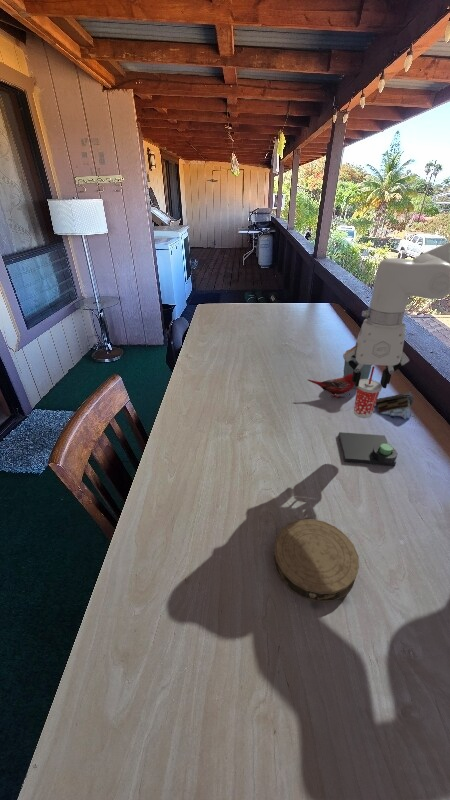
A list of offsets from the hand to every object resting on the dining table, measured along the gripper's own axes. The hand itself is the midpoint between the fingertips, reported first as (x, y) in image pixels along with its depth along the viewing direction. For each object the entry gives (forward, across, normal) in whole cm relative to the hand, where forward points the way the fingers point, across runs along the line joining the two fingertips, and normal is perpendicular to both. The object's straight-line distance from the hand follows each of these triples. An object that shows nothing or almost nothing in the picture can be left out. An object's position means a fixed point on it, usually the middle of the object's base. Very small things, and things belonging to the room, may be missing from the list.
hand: (369, 384), depth 90 cm
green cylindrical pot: (+20, +6, +40) cm, 45 cm away
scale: (+20, +2, -2) cm, 20 cm away
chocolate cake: (+20, +15, +19) cm, 32 cm away
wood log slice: (+20, -14, -39) cm, 46 cm away
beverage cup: (+9, 0, 0) cm, 9 cm away
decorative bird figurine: (+20, -4, +27) cm, 34 cm away
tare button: (+17, +6, -5) cm, 19 cm away
